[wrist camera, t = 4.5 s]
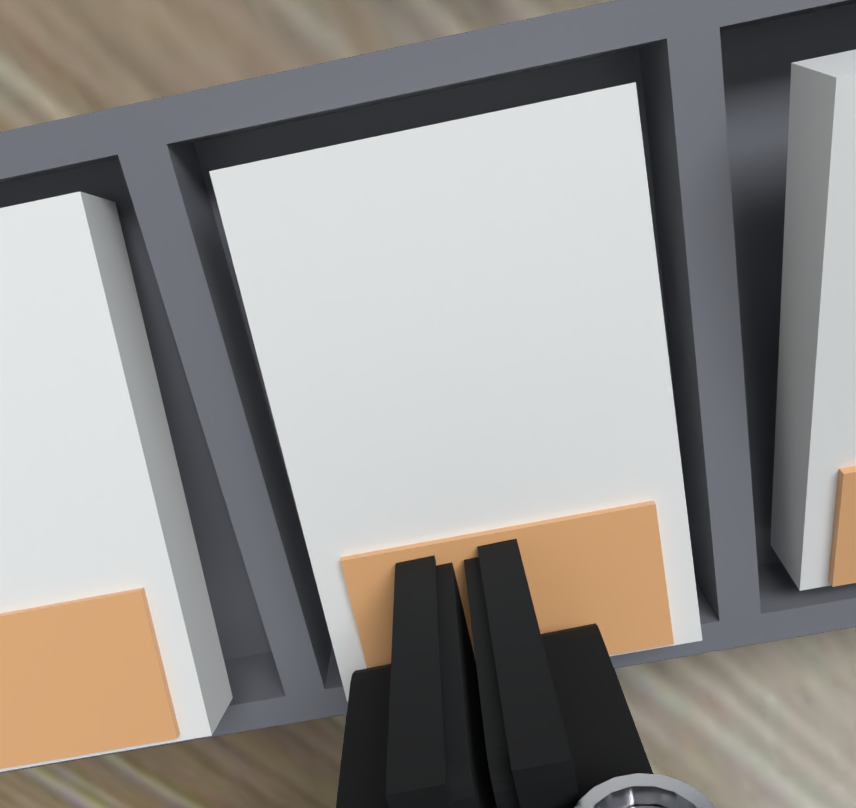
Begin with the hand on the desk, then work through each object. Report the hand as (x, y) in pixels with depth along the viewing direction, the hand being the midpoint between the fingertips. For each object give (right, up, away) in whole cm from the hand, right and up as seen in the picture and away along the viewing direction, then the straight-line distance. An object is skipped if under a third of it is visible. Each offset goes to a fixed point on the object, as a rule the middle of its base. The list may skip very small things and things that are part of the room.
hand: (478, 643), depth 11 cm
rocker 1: (-6, +2, 0) cm, 7 cm away
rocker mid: (0, +3, 0) cm, 3 cm away
